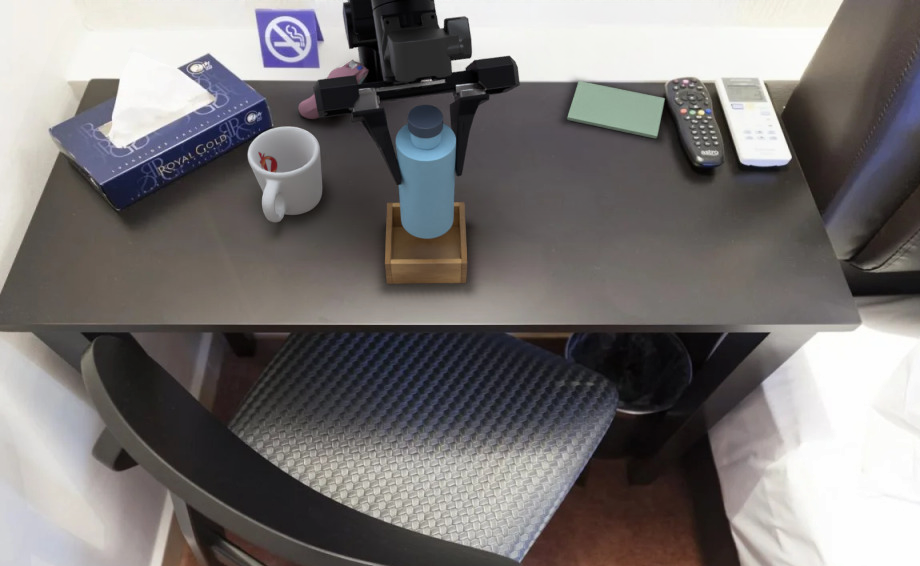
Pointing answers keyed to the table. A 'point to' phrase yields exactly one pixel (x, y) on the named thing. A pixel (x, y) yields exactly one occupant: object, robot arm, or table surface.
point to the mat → (616, 109)
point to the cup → (287, 171)
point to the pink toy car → (349, 69)
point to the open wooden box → (425, 251)
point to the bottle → (426, 173)
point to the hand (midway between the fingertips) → (429, 180)
